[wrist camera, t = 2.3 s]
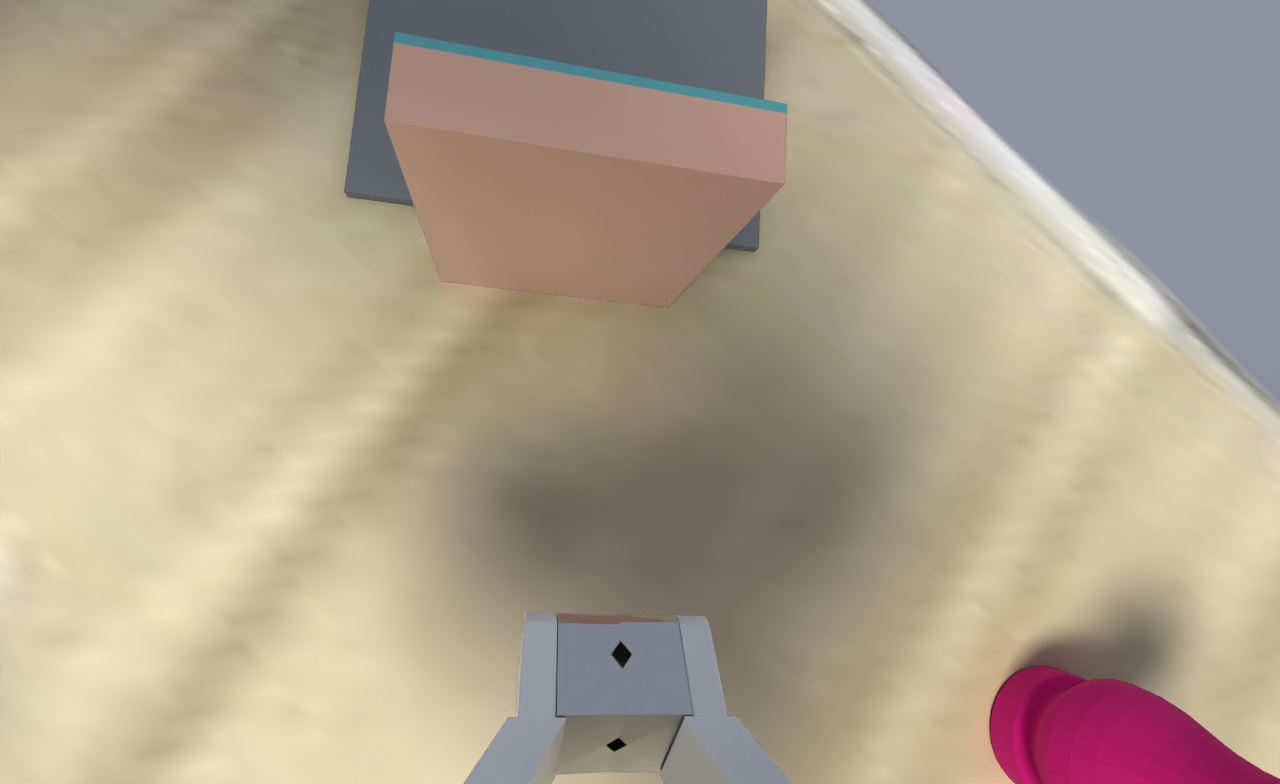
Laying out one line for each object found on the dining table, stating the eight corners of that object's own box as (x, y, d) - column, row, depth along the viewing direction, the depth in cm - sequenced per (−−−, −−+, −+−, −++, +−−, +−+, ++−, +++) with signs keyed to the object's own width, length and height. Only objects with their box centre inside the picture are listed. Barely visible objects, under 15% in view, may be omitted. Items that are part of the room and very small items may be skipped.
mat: (754, 251, 33) (758, 247, 33) (347, 196, 29) (344, 191, 29) (763, -22, 36) (768, -30, 35) (387, -106, 32) (384, -117, 31)
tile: (667, 307, 32) (784, 183, 18) (440, 281, 30) (384, 120, 16) (670, 259, 32) (786, 103, 19) (446, 230, 30) (394, 32, 17)
